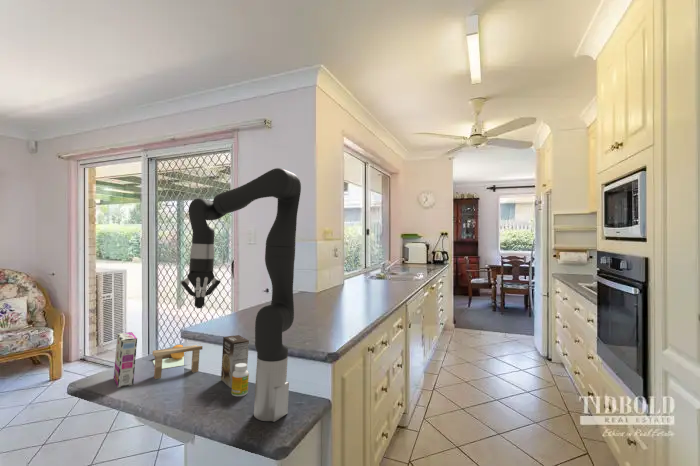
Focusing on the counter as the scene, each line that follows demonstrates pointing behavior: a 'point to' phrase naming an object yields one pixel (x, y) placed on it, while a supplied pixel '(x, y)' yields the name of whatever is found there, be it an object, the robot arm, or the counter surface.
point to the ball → (177, 355)
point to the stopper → (166, 356)
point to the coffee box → (233, 356)
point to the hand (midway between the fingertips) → (199, 307)
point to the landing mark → (171, 362)
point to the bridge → (160, 353)
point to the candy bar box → (125, 359)
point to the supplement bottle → (240, 380)
